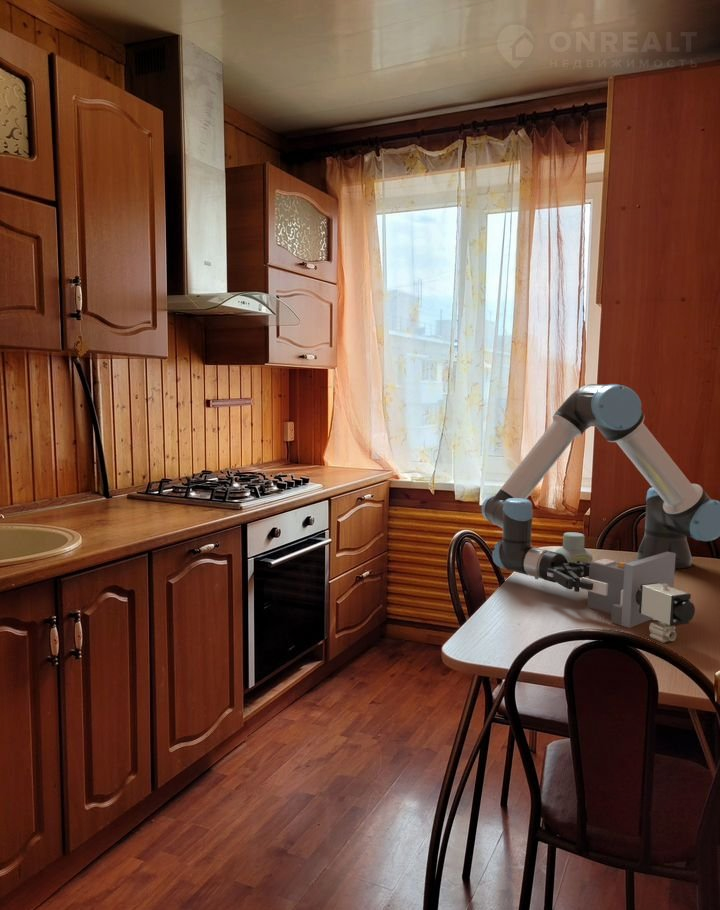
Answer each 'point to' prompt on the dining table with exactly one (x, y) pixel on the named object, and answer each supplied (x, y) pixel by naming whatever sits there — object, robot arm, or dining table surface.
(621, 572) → the block
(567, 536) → the air freshener
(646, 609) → the pneumatic valve
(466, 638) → the dining table surface
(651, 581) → the rail panel
